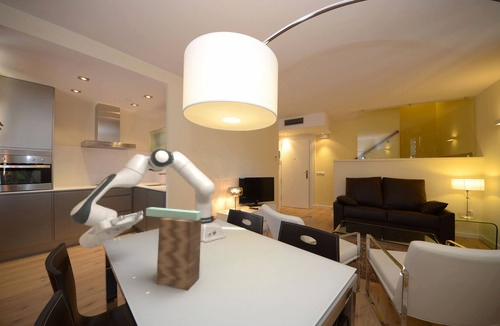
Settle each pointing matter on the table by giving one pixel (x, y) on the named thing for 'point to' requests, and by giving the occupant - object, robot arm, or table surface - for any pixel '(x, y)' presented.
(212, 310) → the table surface
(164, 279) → the walnut stand
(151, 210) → the mint green bar
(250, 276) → the table surface
